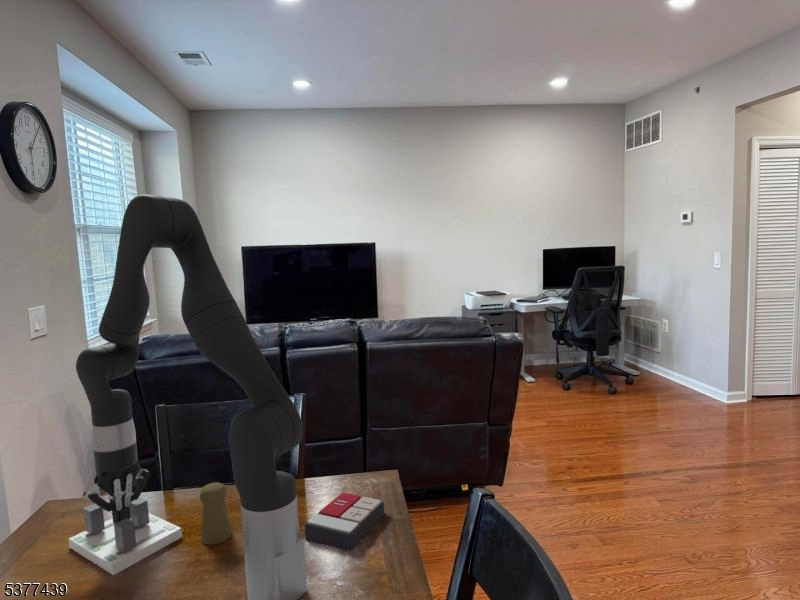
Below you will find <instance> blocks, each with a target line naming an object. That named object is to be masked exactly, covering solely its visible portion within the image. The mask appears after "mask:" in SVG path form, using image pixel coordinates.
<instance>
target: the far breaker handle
mask: <svg viewBox="0 0 800 600" xmlns="http://www.w3.org/2000/svg"><path fill="white" fill-rule="evenodd" d="M82 511H83V517H84V518H83V519H84V527H85V531H86V532H88V533H90V534H92V535H94V534H96V533H98V532H100V531H102V530H104V529H105V526H104V522H105V520H104V509H102V508H100V507H99V506H97V505H96V504H94V503H92V504H90V505H88V506H85V507H83V510H82Z"/></svg>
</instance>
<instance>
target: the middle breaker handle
mask: <svg viewBox="0 0 800 600" xmlns="http://www.w3.org/2000/svg"><path fill="white" fill-rule="evenodd" d="M149 513H150V512H149V503H148V500H147V499H146V498H143V497H140V496H139V498H138V499H137V500H134V501H132V502H131V504H130V519H131V521H133V522H134V527H136V528H140V527H142V526H144V525H146V524H148V523H149Z"/></svg>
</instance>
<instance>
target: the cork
mask: <svg viewBox="0 0 800 600" xmlns="http://www.w3.org/2000/svg"><path fill="white" fill-rule="evenodd" d="M226 497H227V488H226V485H225V484H224V483H221V482H211V483H208V484H205V485H204V486H203V487H202V488H201V489H200V492H199V499H200V501H201V503H202V516H201V517H202V518H201V519H202V521H201V534H200V535H201V536H200V539H201V540H200V541H201V542H202V543H203V544H205V545H217V544H220V543H224V542H225V541H227V540H228V539H230V538H231V536H232V534H233V533H232V532H233V531H232V527H231V522H230V518H229V513H228V509H227V505H226V500H225V499H226Z"/></svg>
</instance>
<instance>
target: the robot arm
mask: <svg viewBox="0 0 800 600" xmlns="http://www.w3.org/2000/svg"><path fill="white" fill-rule="evenodd" d="M153 248H154V249H155V248H156V249H157V248H159V249H160V248H162V249H163V248H164V249H165V248H166V249H171V250H172V252H173V254H174V255H175V256H176V259H177V261H178V263H179V265H180V267H181V269H182V273H183V279H184V283H183V289H182V296H181V303H180V312H181V317H182V321H183V323H184V326H185V327H186V329H187V332H188V333H189V335H190V337H191V339H192V342H193V343H194V346H195V347H196V348H197V350H198V351H199V353H200V354H201V355H202V356H203V357H204V358H205V359H207V360H208V361H209V362H211V363H212V364H213V365H214V366H216V367H217V368H218V369H220V370H221V371H223V372H224V373H225V374H227V375H228V376H230V378H232V379H233V380H234V381H236V383H237V384H238V385H239V386H240V387H241V388H242V389H243V391H244V393H245V394H246V396H247V397H248V399H249V401H250V403H251V405H252V407H250V408H247V409H246V410H243V411H241V412H239V413H238V414H236V415H235V416H234V417H233V418H232V420H231V422H230V426H229V431H228V444H229V453H230V459H231V466H232V472H233V473H232V475H233V480H234V484H235V488H236V490H237V493H238V495H239V500H240V514H241V516H240V517H241V528H242V529H241V530H242V531H241V532H242V542H243V543H242V544H243V555H244V557H243V558H244V570H245V581H246V593H247V600H299V599H300V598H301V597H302V596H303V595H304V594H306V593H307V592H308V587H307V585H308V584H307V568H306V554H305V553H306V552H305V541H304V540H305V539H302V538H300V526H299V525H300V524H299V523H300V522H299V510H298V509H299V507H298V491H297V482H296V478H295V476H293V474H291V473H289V472H286V471H282V470H277V469H276V459H277V458H279V457H281V456H282V455H284V454H286V453H288V452H290V451H291V450H293V449H295V448H296V447H297V446H298V445H299V444H300V443H301V441H302V438H303V435H304V427H303V426H304V425H303V420H302V417H301V415H300V413H299V411H298V409H297V407H296V405H295V403H294V402H293V400H292V398H291V397H290V395H289V394H288V393H287V391H286V389H285V388H284V386H283V384H281V382H280V381H279V378H278V377H277V376H276V374H275V372H273V369H272V368H271V366H270V365H269V363H268V361H267V360H266V357H265V355H264V354H263V352H262V350H261V348H260V346H259V345H258V343H257V341H256V339H255V337H254V335H253V333H252V332H251V330H250V328H249V325H248V323H247V321H246V319H245V317H244V315H243V312H242V311H241V309H240V307H239V306H238V303H237V302H236V300H235V298H234V296H233V294H232V293H231V291H230V289H229V287H228V285H227V283H226V281H225V278H224V277H223V274H222V273H221V271H220V269H219V266H218V265H217V264H218V263H217V262H216V259H215V258H214V256H213V253H212V250H211V247H210V245H209V243H208V240H207V236H206V235H205V231H204V229H203V226H202V224H201V222H200V220H199V216H198V215H197V213H196V211H195V210H194V209H193V207H192V206H191V205H190V204H189V203H188V202H187V201H185V200H183V199H181V198H177V197H170V196H169V197H168V196H162V195H156V194H155V195H153V194H138V195H137V196H136V195H135V196H134V197H133V198H132V199H131V200H130V201H129V203H128V205H126V208H125V211H124V214H123V218H122V223H121V228H120V234H119V241H118V247H117V254H116V255H117V256H116V262H115V268H114V276H113V280H112V286H111V290H110V293H109V297H108V300H107V301H106V302H107V303H106V305H105V307H104V308H105V309H104V311H103V314H102V316H101V320H100V323H99V326H98V334H99V335H100V337H101V338H102V339H103V340H104V341H106V342H108V343H107V344H103V345H98V346H93V347H88V348H85V349H83V350H82V351H81V352H80V353H79V354H78V356H77V359H76V362H75V370H76V374H77V377H78V380H79V381H80V383H81V386H82V388H83V390H84V393H85V395H86V398H87V400H88V402H89V405H90V413H91V425H92V430H91V434H92V435H91V441H92V443H91V446H92V451H93V460H94V470H95V476H94V479H93V482H94V484H93V485H92V486H91V488H90V489H88V490H85V491H84V492H83V493H82V496H83V497H84V498H85V499H87V500H88V501H90V502H91V503H92V504H96V505H97V506H99V507H100V508H102V509H103V511H104V510H105V511H106V512H111V515H112V516H111V517H112V518H113V523H114V524H115V523H117V522H119V521H122V520H124V519H126V518H127V519H129V520H130V504H131V502H132V501H134V500H137V499H138V498H139V497H140V496H141V494H142V492H143V490H144V489H145V487H146V485H147V482H148V481H149V479H150V477H151V475H152V472H151V471H150V470H148V469H146V468H141V465H140V464H139V463H138V461H139V460H138V459H139V457H138V448H137V437H136V436H137V435H136V428H135V422H134V418H133V416H134V415H133V405H132V397H131V394H130V392H129V391H128V390H126V389H122V388H121V389H120V388H119V389H116V388H115V389H112V388H111V387H110V385H109V381H112V380H115V379H119V378H122V377H126V376H128V375H130V374H131V373H132V372H133V371H134V370H135V368H136V367H137V365H138V362H139V355H140V354H139V351H140V333H141V331H142V328H143V326H144V323H145V321H146V317H147V316H148V312H149V309H150V292H149V289H148V286H147V283H146V278H145V272H144V270H145V269H144V268H145V264H146V261H147V258H148V255H149V253H150V252H151V250H152V249H153ZM100 490H102V491H103V492H104V493H106V497H107V499H108V501H106V499H105V500H104V498H102V497H101V495H102V492H101V491H100Z"/></svg>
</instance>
